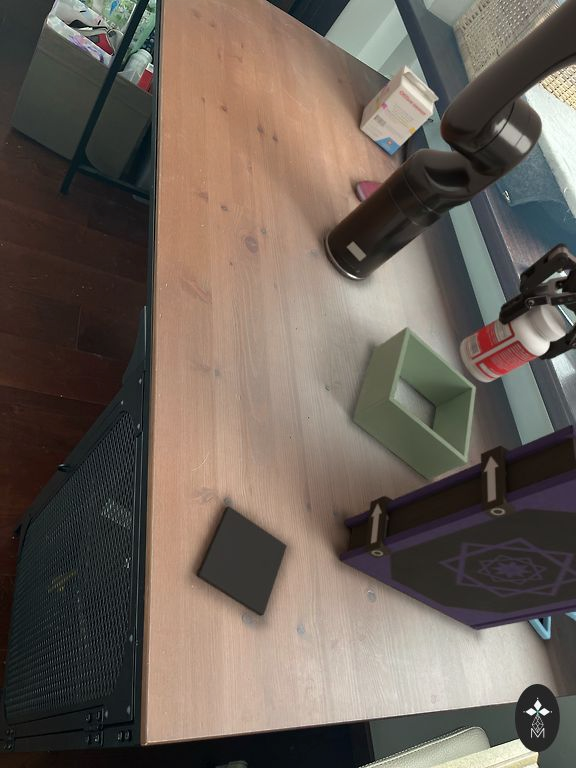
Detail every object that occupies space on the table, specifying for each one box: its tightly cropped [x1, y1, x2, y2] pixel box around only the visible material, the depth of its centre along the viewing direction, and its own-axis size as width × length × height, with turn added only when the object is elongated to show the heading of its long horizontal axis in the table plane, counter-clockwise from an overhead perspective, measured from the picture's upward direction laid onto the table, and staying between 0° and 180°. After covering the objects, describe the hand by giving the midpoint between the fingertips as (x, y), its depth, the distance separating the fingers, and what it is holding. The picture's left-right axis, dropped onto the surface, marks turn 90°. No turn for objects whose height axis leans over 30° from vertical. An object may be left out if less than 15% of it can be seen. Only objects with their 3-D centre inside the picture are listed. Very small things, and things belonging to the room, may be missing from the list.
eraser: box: [354, 180, 383, 203], centre depth 112 cm, size 11×4×2 cm, turn 117°
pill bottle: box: [459, 304, 568, 383], centre depth 73 cm, size 6×6×11 cm
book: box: [339, 424, 576, 631], centre depth 66 cm, size 24×6×30 cm, turn 77°
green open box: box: [352, 326, 477, 481], centre depth 87 cm, size 15×15×7 cm
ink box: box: [359, 64, 439, 156], centre depth 120 cm, size 9×8×13 cm
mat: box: [196, 506, 287, 617], centre depth 63 cm, size 8×8×1 cm
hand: (520, 335), depth 72 cm, fingers closed on pill bottle, 6 cm apart
